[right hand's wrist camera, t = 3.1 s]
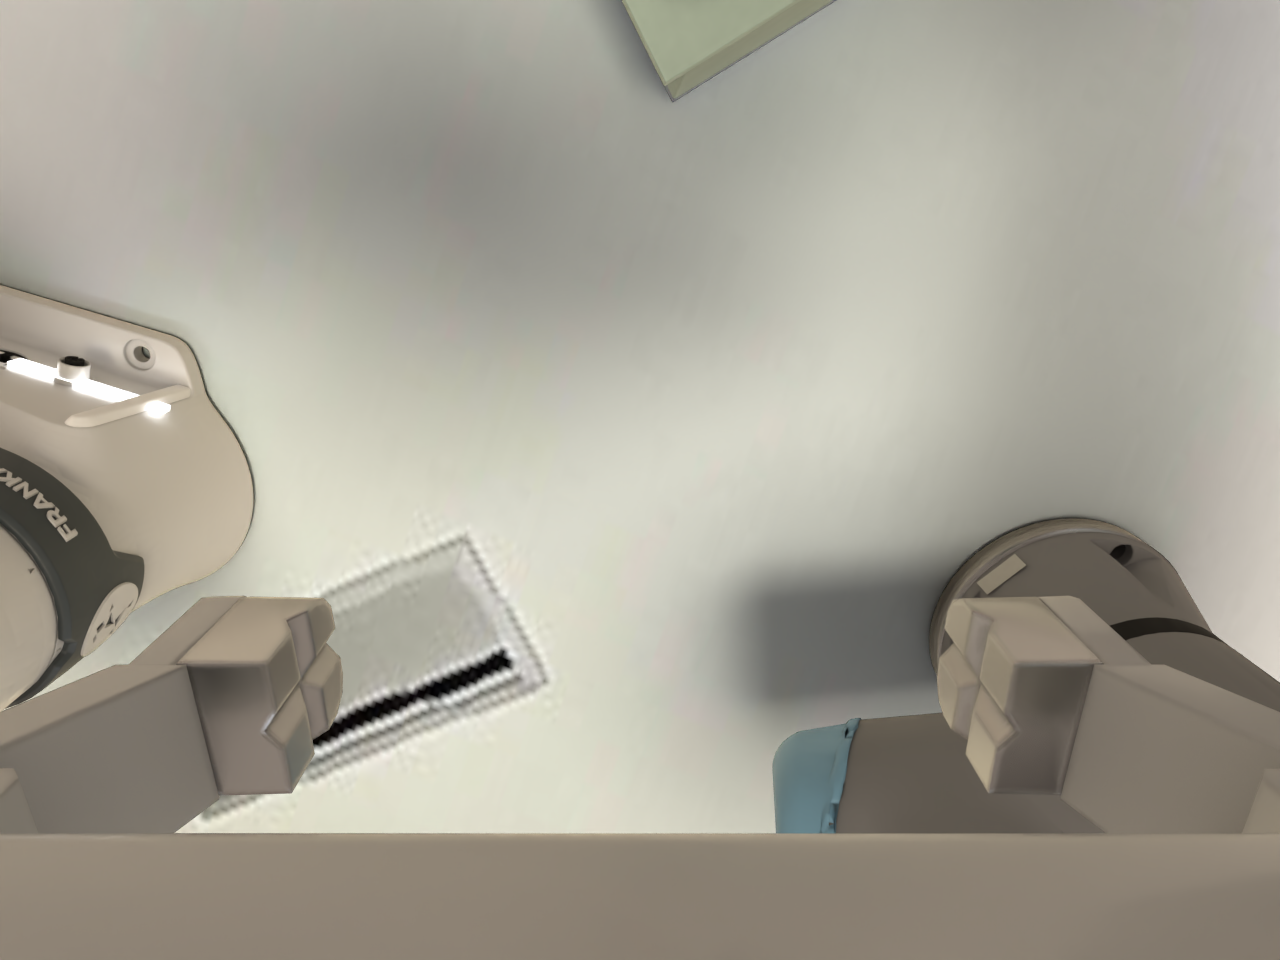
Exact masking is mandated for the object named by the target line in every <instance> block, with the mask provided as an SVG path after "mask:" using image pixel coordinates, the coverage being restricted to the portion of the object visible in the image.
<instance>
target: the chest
mask: <svg viewBox="0 0 1280 960" xmlns="http://www.w3.org/2000/svg"><path fill="white" fill-rule="evenodd" d="M834 1H836V0H802V1H800V2H798V3H797V4H795V5H794V6H792V7H790V8H789V9H787V10H786V11H784V12H782V13H781V14H779V15H778V16H776V17H774V18H773V19H771V20H770V21H768V22H767V23H765V24H763V25H762V26H760V27H759V28H757V29H755V30H754V31H752V32H751V33H749V34H747V35H746V36H744V37H743V38H741V39H739V40H738V41H736V42H735V43H733V44H732V45H730V46H728V47H727V48H725V49H724V50H722V51H720V52H719V53H717V54H716V55H714V56H712V57H711V58H709V59H708V60H706V61H704V62H703V63H701V64H700V65H698V66H697V67H695V68H693V69H692V70H690V71H689V72H687V73H685V74H684V75H682V76H681V77H679V78H677V79H676V80H674V81H673V82H671V83H669V84H668V85H666V86H665V88H666V90H667V92H668V94H669V96H670V98H671V100H672V102H674V101H676V100H677V99H679V98H680V97H682V96H684V95H685V94H687V93H688V92H690V91H692V90H693V89H695V88H696V87H698V86H700V85H701V84H703V83H705V82H706V81H708V80H709V79H711V78H713V77H714V76H716V75H717V74H719V73H721V72H722V71H724V70H725V69H727V68H729V67H730V66H732V65H733V64H735V63H737V62H738V61H740V60H741V59H743V58H745V57H746V56H748V55H749V54H751V53H753V52H754V51H756V50H757V49H759V48H761V47H762V46H764V45H765V44H767V43H769V42H770V41H772V40H774V39H775V38H777V37H778V36H780V35H782V34H783V33H785V32H786V31H788V30H790V29H791V28H793V27H794V26H796V25H798V24H799V23H801V22H802V21H804V20H806V19H807V18H809V17H810V16H812V15H814V14H815V13H817V12H818V11H820V10H822V9H823V8H825V7H826V6H828V5H830V4H831V3H833V2H834Z"/></svg>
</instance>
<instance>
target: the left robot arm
mask: <svg viewBox="0 0 1280 960" xmlns="http://www.w3.org/2000/svg"><path fill="white" fill-rule="evenodd" d="M1047 596H1072V597H1075V598H1079V599H1080V600H1082V601H1083V602H1084V603H1085V604H1086V605H1087V606H1088V607H1089V608H1090V609H1091V610H1092V611H1094V612H1095V613H1096V614H1097V615H1098V616H1099V617H1100V618H1101V619H1102V620H1103V621H1104V622H1106V623H1107V624H1108V625H1109V626H1110V627H1111V628H1112V629H1113V630H1114V631H1115V632H1117V633H1118V634H1119V635H1120V636H1121V637H1122V638H1123V639H1124V640H1125V641H1126V642H1127V643H1129V644H1130V645H1131V646H1132V647H1133V648H1134V649H1135V650H1136V651H1137V652H1138V653H1139V654H1141V655H1142V656H1143V657H1144V658H1145V659H1146V660H1147V661H1148V662H1149V663H1150V664H1151V665H1167V666H1169V667H1171V668H1174V669H1176V670H1179V671H1181V672H1184V673H1186V674H1188V675H1191V676H1193V677H1196V678H1198V679H1201V680H1203V681H1205V682H1208V683H1210V684H1213V685H1215V686H1218V687H1220V688H1222V689H1225V690H1227V691H1230V692H1232V693H1235V694H1237V695H1239V696H1242V697H1244V698H1247V699H1249V700H1252V701H1254V702H1256V703H1259V704H1261V705H1264V706H1266V707H1269V708H1271V709H1273V710H1276V711H1278V712H1280V682H1278V681H1277V680H1275V679H1274V678H1273V677H1271V676H1270V675H1269V674H1267V673H1266V672H1264V671H1263V670H1262V669H1260V668H1259V667H1258V666H1256V665H1255V664H1253V663H1252V662H1251V661H1249V660H1248V659H1247V658H1245V657H1244V656H1243V655H1241V654H1240V653H1238V652H1237V651H1236V650H1234V649H1233V648H1231V647H1230V646H1228V645H1227V644H1226V643H1224V642H1223V641H1222V640H1220V639H1219V638H1218V637H1217V636H1215V635H1214V634H1213V633H1212V631H1211V630H1210V628H1209V626H1208V625H1207V623H1206V621H1205V620H1204V618H1203V616H1202V614H1201V613H1200V611H1199V609H1198V608H1197V606H1196V604H1195V603H1194V601H1193V599H1192V597H1191V596H1190V594H1189V592H1188V591H1187V589H1186V587H1185V586H1184V584H1183V582H1182V580H1181V578H1180V577H1179V575H1178V573H1177V571H1176V570H1175V569H1174V567H1173V566H1172V565H1171V564H1170V562H1169V561H1168V560H1167V559H1166V558H1165V557H1164V556H1163V555H1161V554H1160V553H1159V552H1158V551H1156V550H1155V549H1154V548H1152V547H1151V546H1149V545H1148V544H1146V543H1145V542H1143V541H1142V540H1140V539H1139V538H1137V537H1136V536H1134V535H1133V534H1131V533H1129V532H1128V531H1126V530H1124V529H1122V528H1119V527H1117V526H1115V525H1112V524H1109V523H1105V522H1101V521H1096V520H1090V519H1078V518H1067V519H1055V520H1049V521H1043V522H1039V523H1035V524H1031V525H1028V526H1025V527H1022V528H1020V529H1017V530H1015V531H1013V532H1010V533H1008V534H1006V535H1004V536H1002V537H1000V538H998V539H996V540H995V541H993V542H992V543H990V544H989V545H987V546H986V547H984V548H983V549H982V550H980V551H979V552H978V553H976V554H975V555H974V556H973V557H972V558H971V559H969V560H968V561H967V562H966V563H965V564H964V565H963V566H962V567H961V568H960V569H959V570H958V572H957V573H956V574H955V575H954V577H953V578H952V579H951V580H950V582H949V584H948V585H947V587H946V588H945V590H944V591H943V593H942V595H941V597H940V599H939V601H938V603H937V606H936V608H935V611H934V614H933V618H932V621H931V627H930V635H929V649H930V656H931V661H932V664H933V668H934V670H935V673H936V675H937V674H938V666H939V658H940V657H941V655H942V654H943V653H944V652H945V651H946V650H947V649H948V648H949V647H950V646H951V645H952V644H953V643H954V642H953V641H952V639H951V637H950V636H949V634H948V633H947V631H946V630H945V622H946V617H947V611H948V609H949V607H950V605H951V603H952V601H953V600H954V599H961V598H997V597H1047ZM967 742H968V740H967V739H965V738H964V737H962V736H961V735H959V734H958V733H956V732H954V731H953V730H951V728H950V726H949V725H948V723H947V721H946V719H945V717H944V716H943V713H933V714H922V715H910V716H899V717H887V718H876V719H865V720H861V718H855V719H851V720H849V721H848V722H847V723H846V724H841V725H835V726H829V727H823V728H817V729H811V730H805V731H800V732H797V733H796V734H794V735H792V736H790V737H789V738H787V739H786V740H785V741H784V742H783V743H782V744H781V745H780V747H779V748H778V750H777V751H776V753H775V756H774V760H773V787H774V804H775V822H776V833H1106V832H1104V831H1103V830H1102V829H1100V828H1099V827H1098V826H1096V825H1095V824H1094V823H1092V822H1091V821H1090V820H1088V819H1087V818H1086V817H1084V816H1083V815H1082V814H1080V813H1079V812H1078V811H1076V810H1075V809H1074V808H1072V807H1071V806H1070V805H1068V804H1067V803H1066V802H1064V801H1063V800H1062V799H1060V797H1061V795H1032V794H996V793H988V792H987V790H986V788H985V787H984V785H983V783H982V781H981V780H980V778H979V776H978V775H977V773H976V771H975V770H974V768H973V766H972V764H971V763H970V761H969V759H968V758H967V756H966V754H965V753H966V748H967Z"/></svg>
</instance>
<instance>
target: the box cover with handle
mask: <svg viewBox="0 0 1280 960" xmlns="http://www.w3.org/2000/svg"><path fill="white" fill-rule="evenodd" d="M800 1H802V0H622V2H623V4H624V6H625V8H626V10H627V12H628V14H629V16H630V18H631V20H632V22H633V24H634V26H635V28H636V30H637V33H638V35H639V37H640V39H641V41H642V43H643V45H644V47H645V49H646V51H647V53H648V55H649V57H650V59H651V61H652V63H653V65H654V67H655V69H656V71H657V73H658V75H659V77H660V79H661V81H662V83H663V85H664V86H666V85H668V84H669V83H671V82H673V81H674V80H676V79H677V78H679V77H681V76H682V75H684V74H685V73H687V72H689V71H690V70H692V69H693V68H695V67H697V66H698V65H700V64H701V63H703V62H704V61H706V60H708V59H709V58H711V57H712V56H714V55H716V54H717V53H719V52H720V51H722V50H724V49H725V48H727V47H728V46H730V45H732V44H733V43H735V42H736V41H738V40H739V39H741V38H743V37H744V36H746V35H747V34H749V33H751V32H752V31H754V30H755V29H757V28H759V27H760V26H762V25H763V24H765V23H767V22H768V21H770V20H771V19H773V18H774V17H776V16H778V15H779V14H781V13H782V12H784V11H786V10H787V9H789V8H790V7H792V6H794V5H795V4H797V3H798V2H800Z"/></svg>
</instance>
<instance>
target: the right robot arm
mask: <svg viewBox="0 0 1280 960" xmlns="http://www.w3.org/2000/svg"><path fill="white" fill-rule="evenodd" d="M142 347H145V348H146V349H147V350H148V351H149V353H150V359H148V358H146V357H145V356H144V355H143V353H142ZM252 513H253V485H252V479H251V475H250V470H249V467H248V464H247V461H246V458H245V456H244V453H243V451H242V449H241V447H240V445H239V443H238V441H237V439H236V438H235V436H234V434H233V433H232V431H231V430H230V428H229V427H228V425H227V424H226V422H225V421H224V420H223V418H222V417H221V416H220V414H219V413H218V412H217V410H216V409H215V408H214V406H213V405H212V403H211V402H210V400H209V398H208V396H207V395H206V392H205V388H204V385H203V381H202V377H201V374H200V371H199V368H198V365H197V362H196V359H195V357H194V355H193V353H192V351H191V350H190V348H189V347H188V346H187V345H186V344H185V343H184V342H183V341H182V340H180V339H178V338H176V337H174V336H171V335H168V334H165V333H161V332H158V331H155V330H151V329H148V328H145V327H141V326H138V325H134V324H131V323H128V322H124V321H121V320H117V319H114V318H111V317H107V316H104V315H101V314H97V313H94V312H90V311H87V310H84V309H80V308H77V307H74V306H70V305H67V304H63V303H60V302H57V301H53V300H50V299H46V298H43V297H40V296H36V295H33V294H30V293H26V292H23V291H19V290H16V289H13V288H9V287H6V286H3V285H0V960H1280V712H1278V711H1276V710H1273V709H1271V708H1269V707H1266V706H1264V705H1261V704H1259V703H1256V702H1254V701H1252V700H1249V699H1247V698H1244V697H1242V696H1239V695H1237V694H1235V693H1232V692H1230V691H1227V690H1225V689H1222V688H1220V687H1218V686H1215V685H1213V684H1210V683H1208V682H1205V681H1203V680H1201V679H1198V678H1196V677H1193V676H1191V675H1188V674H1186V673H1184V672H1181V671H1179V670H1176V669H1174V668H1171V667H1169V666H1167V665H1151V664H1150V663H1149V662H1148V661H1147V660H1146V659H1145V658H1144V657H1143V656H1142V655H1141V654H1139V653H1138V652H1137V651H1136V650H1135V649H1134V648H1133V647H1132V646H1131V645H1130V644H1129V643H1127V642H1126V641H1125V640H1124V639H1123V638H1122V637H1121V636H1120V635H1119V634H1118V633H1117V632H1115V631H1114V630H1113V629H1112V628H1111V627H1110V626H1109V625H1108V624H1107V623H1106V622H1104V621H1103V620H1102V619H1101V618H1100V617H1099V616H1098V615H1097V614H1096V613H1095V612H1094V611H1092V610H1091V609H1090V608H1089V607H1088V606H1087V605H1086V604H1085V603H1084V602H1083V601H1082V600H1080V599H1079V598H1075V597H1072V596H1047V597H997V598H961V599H954V600H953V601H952V603H951V605H950V607H949V609H948V611H947V617H946V622H945V630H946V631H947V633H948V634H949V636H950V637H951V639H952V641H953V642H954V643H953V644H952V645H951V646H950V647H949V648H948V649H947V650H946V651H945V652H944V653H943V654H942V655H941V657H940V658H939V666H938V674H937V688H938V698H939V703H940V706H941V709H942V712H943V716H944V717H945V719H946V721H947V723H948V725H949V726H950V728H951V730H953V731H954V732H956V733H958V734H959V735H961V736H962V737H964V738H965V739H967V740H968V742H967V748H966V753H965V754H966V756H967V758H968V759H969V761H970V763H971V764H972V766H973V768H974V770H975V771H976V773H977V775H978V776H979V778H980V780H981V781H982V783H983V785H984V787H985V788H986V790H987V792H988V793H996V794H1032V795H1061V797H1060V799H1062V800H1063V801H1064V802H1066V803H1067V804H1068V805H1070V806H1071V807H1072V808H1074V809H1075V810H1076V811H1078V812H1079V813H1080V814H1082V815H1083V816H1084V817H1086V818H1087V819H1088V820H1090V821H1091V822H1092V823H1094V824H1095V825H1096V826H1098V827H1099V828H1100V829H1102V830H1103V831H1104V832H1106V833H175V832H176V831H177V830H179V829H180V828H181V827H183V826H184V825H185V824H187V823H188V822H189V821H191V820H192V819H193V818H195V817H196V816H197V815H199V814H200V813H201V812H203V811H204V810H205V809H207V808H208V807H209V806H211V805H212V804H213V803H215V802H216V801H217V800H219V795H247V794H282V793H292V792H293V790H294V788H295V787H296V785H297V783H298V782H299V780H300V778H301V776H302V775H303V773H304V771H305V770H306V768H307V766H308V765H309V763H310V761H311V759H312V758H313V756H314V754H315V753H314V748H313V742H312V740H313V739H315V738H316V737H318V736H319V735H321V734H322V733H324V732H326V731H327V730H329V728H330V726H331V725H332V723H333V721H334V719H335V717H336V715H337V713H338V709H339V705H340V701H341V697H342V693H343V671H342V665H341V658H340V657H339V655H338V654H337V653H336V652H335V651H334V650H333V649H332V648H331V647H330V646H329V645H328V644H327V643H326V642H327V641H328V639H329V637H330V636H331V634H332V633H333V631H334V630H335V623H334V618H333V613H332V608H331V605H330V604H329V603H328V602H327V601H326V600H325V599H324V598H301V597H246V596H215V597H205V598H201V599H200V600H199V601H198V602H197V603H195V604H194V605H193V606H192V607H191V608H190V609H189V610H188V611H187V612H186V613H184V614H183V615H182V616H181V617H180V618H179V619H178V620H177V621H176V622H175V623H174V624H172V625H171V626H170V627H169V628H168V629H167V630H166V631H165V632H164V633H163V634H161V635H160V636H159V637H158V638H157V639H156V640H155V641H154V642H153V643H152V644H151V645H149V646H148V647H147V648H146V649H145V650H144V651H143V652H142V653H141V654H140V655H138V656H137V657H136V658H135V659H134V660H133V661H132V662H131V663H130V664H129V665H113V666H111V667H109V668H106V669H104V670H101V671H99V672H96V673H94V674H92V675H89V676H87V677H84V678H82V679H79V680H77V681H74V682H72V683H70V684H67V685H65V686H62V687H60V688H57V689H55V690H53V691H50V692H48V693H45V694H43V695H40V696H38V697H35V698H33V699H31V700H28V699H30V698H32V697H33V696H34V695H36V694H37V693H39V692H40V691H42V690H43V689H44V688H46V687H47V686H48V685H49V684H51V683H52V682H53V681H55V680H56V679H57V678H59V677H60V676H61V675H62V674H64V673H65V672H66V671H68V670H69V669H70V668H71V667H73V666H74V665H75V664H76V663H77V662H79V661H80V660H81V659H82V658H83V657H86V656H88V655H89V654H91V653H92V652H93V651H94V650H96V649H97V648H98V647H99V646H100V645H101V644H102V643H104V642H105V641H106V640H107V639H108V638H109V637H110V636H111V635H112V634H113V633H114V632H115V631H116V630H117V629H118V628H119V627H120V625H121V624H122V623H123V622H124V621H125V619H126V618H127V617H128V616H129V614H130V613H131V612H133V611H134V610H136V609H138V608H139V607H141V606H143V605H145V604H146V603H148V602H150V601H151V600H153V599H155V598H157V597H159V596H161V595H163V594H164V593H167V592H169V591H171V590H173V589H175V588H178V587H181V586H184V585H187V584H190V583H193V582H196V581H199V580H201V579H203V578H205V577H207V576H209V575H211V574H213V573H214V572H216V571H217V570H219V569H220V568H221V567H223V566H224V565H225V564H226V563H227V562H228V561H229V560H230V559H231V558H232V557H233V556H234V555H235V553H236V552H237V551H238V549H239V548H240V546H241V545H242V543H243V541H244V539H245V537H246V535H247V532H248V529H249V527H250V523H251V519H252ZM26 700H28V701H26ZM24 701H26V702H24ZM22 702H23V703H22ZM20 703H21V704H20ZM17 704H18V705H17ZM14 705H16V706H14ZM11 706H14V707H11ZM9 707H11V708H9ZM6 708H9V709H6ZM4 709H6V710H4ZM2 710H4V711H2Z"/></svg>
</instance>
